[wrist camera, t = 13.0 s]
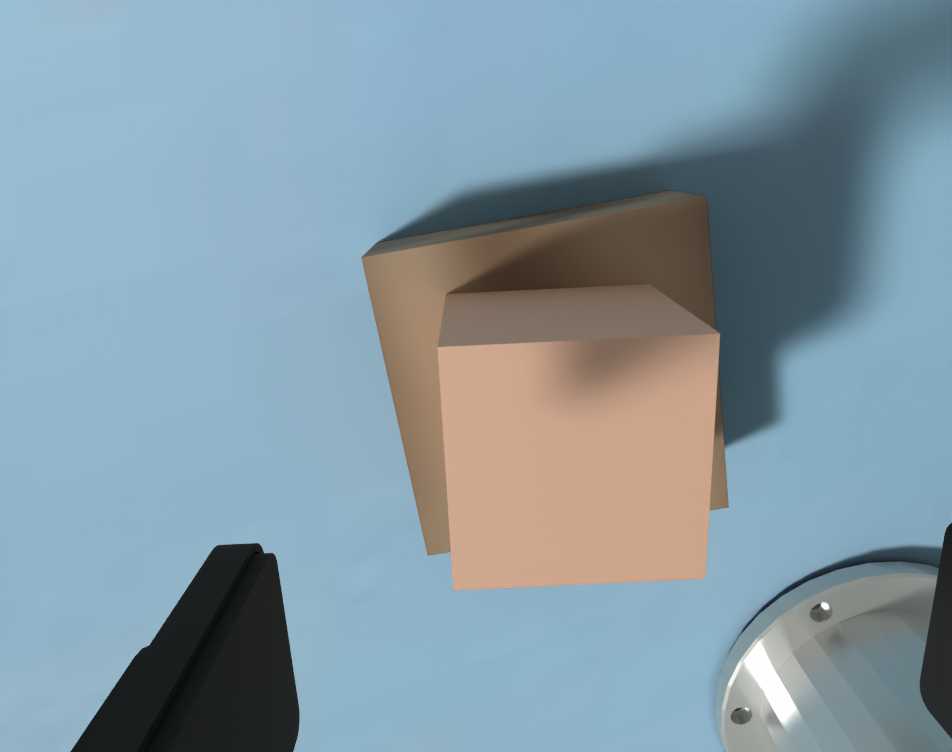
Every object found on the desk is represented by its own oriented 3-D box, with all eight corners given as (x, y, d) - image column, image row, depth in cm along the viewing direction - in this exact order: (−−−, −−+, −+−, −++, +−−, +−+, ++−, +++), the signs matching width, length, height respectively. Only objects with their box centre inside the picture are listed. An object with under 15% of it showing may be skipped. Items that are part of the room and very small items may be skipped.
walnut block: (667, 189, 24) (706, 196, 20) (690, 457, 27) (728, 507, 23) (377, 241, 24) (361, 257, 20) (433, 499, 27) (427, 555, 23)
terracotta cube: (649, 284, 20) (719, 333, 15) (644, 470, 22) (705, 578, 17) (445, 294, 20) (437, 347, 15) (457, 479, 22) (453, 590, 17)
